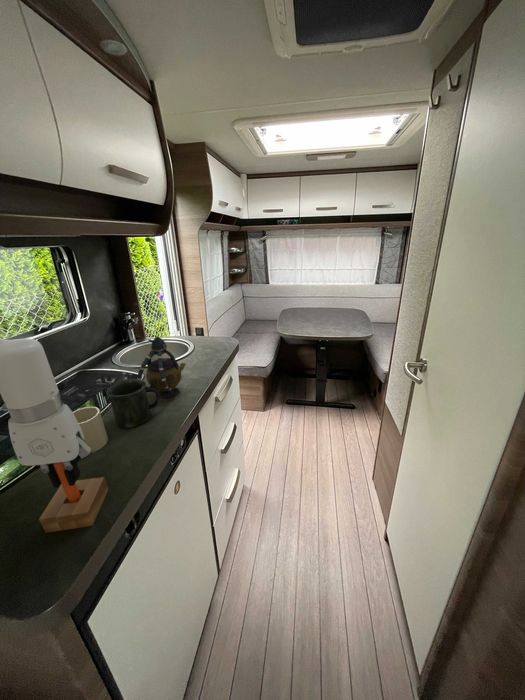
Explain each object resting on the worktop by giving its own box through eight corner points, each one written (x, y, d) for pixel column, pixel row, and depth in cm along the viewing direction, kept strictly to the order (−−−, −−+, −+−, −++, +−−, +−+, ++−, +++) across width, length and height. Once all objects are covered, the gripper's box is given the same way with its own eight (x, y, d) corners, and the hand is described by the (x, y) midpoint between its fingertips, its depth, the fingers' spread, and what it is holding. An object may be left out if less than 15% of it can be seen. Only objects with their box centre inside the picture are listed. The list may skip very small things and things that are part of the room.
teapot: (140, 407, 97) (125, 345, 88) (172, 373, 120) (162, 322, 111) (172, 409, 95) (160, 346, 86) (198, 375, 118) (191, 322, 109)
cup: (70, 456, 76) (58, 426, 72) (83, 436, 83) (73, 408, 80) (101, 452, 77) (92, 422, 73) (112, 432, 84) (104, 405, 81)
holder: (45, 533, 56) (38, 519, 55) (67, 494, 64) (62, 482, 63) (92, 525, 57) (87, 512, 56) (108, 489, 65) (104, 476, 64)
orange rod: (71, 514, 60) (50, 465, 54) (76, 505, 62) (56, 457, 56) (82, 513, 60) (62, 463, 54) (86, 504, 62) (68, 455, 56)
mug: (118, 413, 94) (109, 382, 89) (163, 404, 98) (157, 374, 93) (112, 433, 84) (102, 399, 80) (162, 422, 88) (156, 390, 84)
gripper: (-29, 424, 46) (13, 503, 53) (74, 413, 48) (101, 490, 55) (3, 399, 53) (36, 472, 60) (92, 391, 55) (114, 462, 62)
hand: (67, 480), depth 57 cm, fingers closed on orange rod, 2 cm apart
